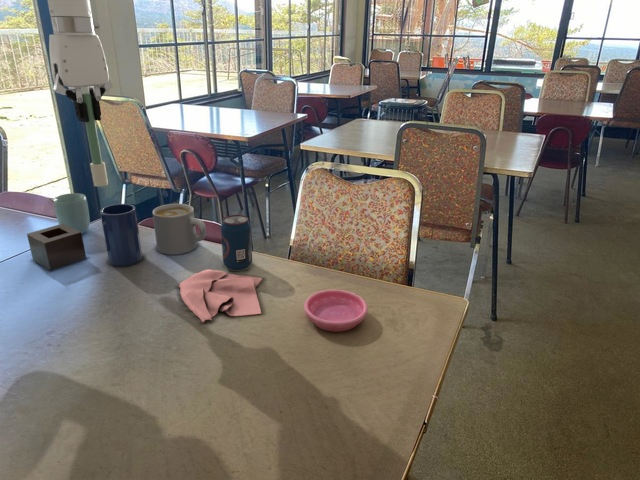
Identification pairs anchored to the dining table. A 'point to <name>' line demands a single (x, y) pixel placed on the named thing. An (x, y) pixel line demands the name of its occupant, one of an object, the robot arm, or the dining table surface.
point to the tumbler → (121, 234)
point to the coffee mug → (176, 228)
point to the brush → (94, 146)
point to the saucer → (335, 310)
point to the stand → (56, 246)
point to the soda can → (236, 242)
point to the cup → (72, 211)
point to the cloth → (220, 294)
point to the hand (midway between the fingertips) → (89, 120)
